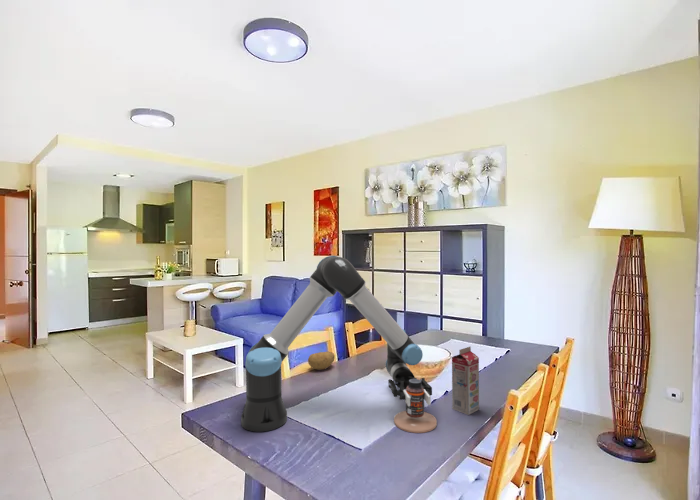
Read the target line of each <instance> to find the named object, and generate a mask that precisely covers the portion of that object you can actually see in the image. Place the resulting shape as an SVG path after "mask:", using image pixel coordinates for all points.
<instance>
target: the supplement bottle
mask: <svg viewBox="0 0 700 500" xmlns="http://www.w3.org/2000/svg"><path fill="white" fill-rule="evenodd" d="M405 390H406V392H407V393H408V395H409V396H410V406H408V405H407V404H406V403H405V411H406V414H407V415H408V416H410V417H413V418H419V417H422V416H423V415H424V412H425V400H424V389H423V387H422V386H421V381H420V379H418V378H417V379H410V380H409V386H407V388H406V389H405Z"/></svg>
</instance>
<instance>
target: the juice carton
mask: <svg viewBox="0 0 700 500" xmlns="http://www.w3.org/2000/svg"><path fill="white" fill-rule="evenodd" d="M471 348H472V347H471V346H468V347H467V346H466V347H464V348H461V349H459V353H458V354H457V355H454V356H452V357H451V389H452V390H451V397H452V401H451V402H452V403H451V404H452V406H451V408H452V410H453V411H456V412H460V413H462V414H465V415H468V416H470V415H471V414H474V413H475V412H477V411H479V410H480V364H479V363H480V357H479V356H478V355H476V353H474V352H473V351H472V349H471Z"/></svg>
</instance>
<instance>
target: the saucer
mask: <svg viewBox="0 0 700 500" xmlns="http://www.w3.org/2000/svg"><path fill="white" fill-rule="evenodd" d="M393 423H394V425H395V427H396V428H398V429H399V430H402V431H404V432H407V433H413V434H425V433H429V432H431V431H433V430H435V429H436V427H438V426H437V418H436V417H435V416H434V415H433V414H431V413H429V412H427V411H426V412H425V411H424V415H423V416H422V417H419V418H413V417H410V416H408V415H407V414H406V410H402V411H399V412H398V413H397V414H395V415H394V418H393Z"/></svg>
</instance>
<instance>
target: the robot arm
mask: <svg viewBox="0 0 700 500" xmlns="http://www.w3.org/2000/svg"><path fill="white" fill-rule="evenodd" d="M337 293H339V294H340V295H341V296H342V297H343V299H344V300H346V301H347V300H348V301H350V302H351V303H352V305H353V306H354V307H355V308H356V309H357V310H358V311H359V313H360V314H361V315H362V316H363V317H364V318H365V319H366V320H367V322H368V323H369V324H370V326H372V327H373V328H374V329H375V331H376V333H378V334H379V335H380V337H382V339H383V340H384V341H385V342H386V349H387V350H386V352H387V356H386V360H385V369H386V370H387V373H388V374H389V376H390V377H391V379H388V388H390V391H391V392H392V396H393V397H394V398H397V397H399V399H398V400H400V401H401V400H402V401H405V405H406V404H407V405H408V406H410V396H409V395H408V393H407V392H406V388H407V386H409V380H410V379H418V378H416V377H415V375H414V373H413V372H412V371H411V369H410V368H409V366H416V365H418V364H419V363H420V362H421V361H422V359H423V356H424V355H423V350H422V348H420V346H419V345H418V344H416V343H415V342H414V340H412V339H411V338H410V336H409V335H408V334H407V333H406V329H403V328H402V327H401V326H400V325H399V323H398V322H397V321H396V320H395V319H394V318H393V317H392V315H391V314H390V313H389V312H388V310H386V309H385V307H384V306H383V305H382V303H380V301H379V300H378V299H377V298H376V297H375V295H374V294H373V293H372V292H371V291H370V290H369V289H368V288H367V286H366V280H365V279H364V278H363V277H362V275H361V274H360V273H359V271H358V270H357V269H356V268H355V267H354V265H353V264H352V263H351V262H350V261H349V260H348V259H347V258H344V257H341V256H337V255H329V256H326V257H324V258H322V259H321V260H320V261H319V263H318V264H317V266H316V269H315V270H314V271H313V273H312V274H311V275H310V276H309V284H308V285H307V287H306V288H305V289H304V290H303V291H302V293H301V294H300V296H299V297H298V298H297V299H296V301H294V303H293V304H292V305H291V307H290V308H289V309H288V311H287V312H286V313H285V314H284V316H282V318H281V320H280V321H279V322H278V323H277V324H276V326H274V328H273V329H272V331H270V332H269V333H266V334H263V336H262V337H261V338H260V339H259V340H258V342H256V343H254V344H253V345H252V346H251V347H250V349H249V351H248V352H247V354H246V357H245V362H244V366H245V367H244V368H245V384H246V385H245V391H246V392H245V394H246V399H245V400H246V401H245V403H244V407H243V411H242V413H241V416H240V417H241V420H240V423H241V427H242V428H243V429H244V430H247V431H250V432H257V433H258V432H269V431H273V430H276V429H278V428H280V427H282V426H283V425H285V424H286V423H287V421H288V412H287V409H286V405H285V403H284V399H283V396H282V363H283V361H285V359H286V358H287V356H288V355H289V347H290V346H291V344H292V343H293V342H294V341H295V339H297V337H298V336H299V334H300V333H301V331H302V330H303V329H304V328H305V327H306V325H307V324H308V323H309V322H310V320H311V319H312V318H313V317H314V315H315V314H316V313H317V311H318V310H319V309H320V308H321V306H322V305H323V304H324V302H325V301H326V300H327V298H329V297H330V298H331V297H334V296H335V295H336V294H337ZM408 365H409V366H408ZM419 380H420V381H421V386H422V387H423V389H424V402H425V403H426V405H428V406H431V401H432V400H431V399H432V397H431V396H432V395H433V387H432V386H431V385H430V384H429V383H428V382H427V381H426V379H425V378H424V377H421V378H420V379H419Z"/></svg>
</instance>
